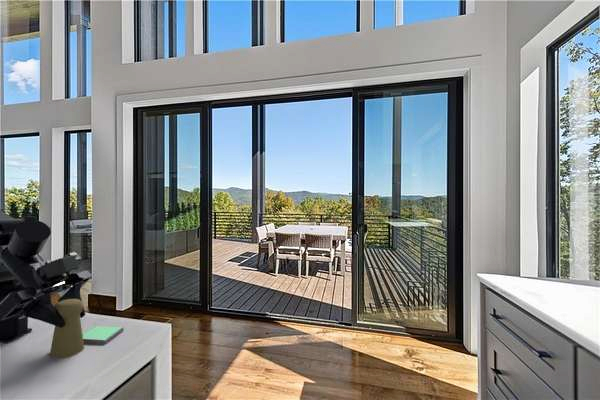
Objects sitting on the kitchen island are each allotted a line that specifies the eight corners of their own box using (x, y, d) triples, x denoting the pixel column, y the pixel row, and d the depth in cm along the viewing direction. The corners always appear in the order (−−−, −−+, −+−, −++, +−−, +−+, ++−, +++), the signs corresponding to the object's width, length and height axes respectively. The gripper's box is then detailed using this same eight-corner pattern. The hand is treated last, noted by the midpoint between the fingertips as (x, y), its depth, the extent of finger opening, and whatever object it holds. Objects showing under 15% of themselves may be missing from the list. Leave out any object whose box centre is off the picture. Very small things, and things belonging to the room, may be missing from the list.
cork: (66, 359, 65) (67, 306, 65) (42, 355, 66) (43, 303, 66) (90, 346, 71) (92, 297, 71) (68, 342, 72) (69, 294, 72)
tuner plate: (74, 342, 72) (74, 338, 72) (95, 329, 79) (95, 325, 79) (105, 344, 72) (105, 340, 72) (123, 330, 79) (123, 327, 79)
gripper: (10, 250, 59) (63, 313, 59) (86, 236, 78) (127, 284, 77) (-29, 289, 60) (23, 351, 59) (55, 266, 79) (96, 313, 78)
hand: (74, 321), depth 69 cm, fingers closed on cork, 5 cm apart
